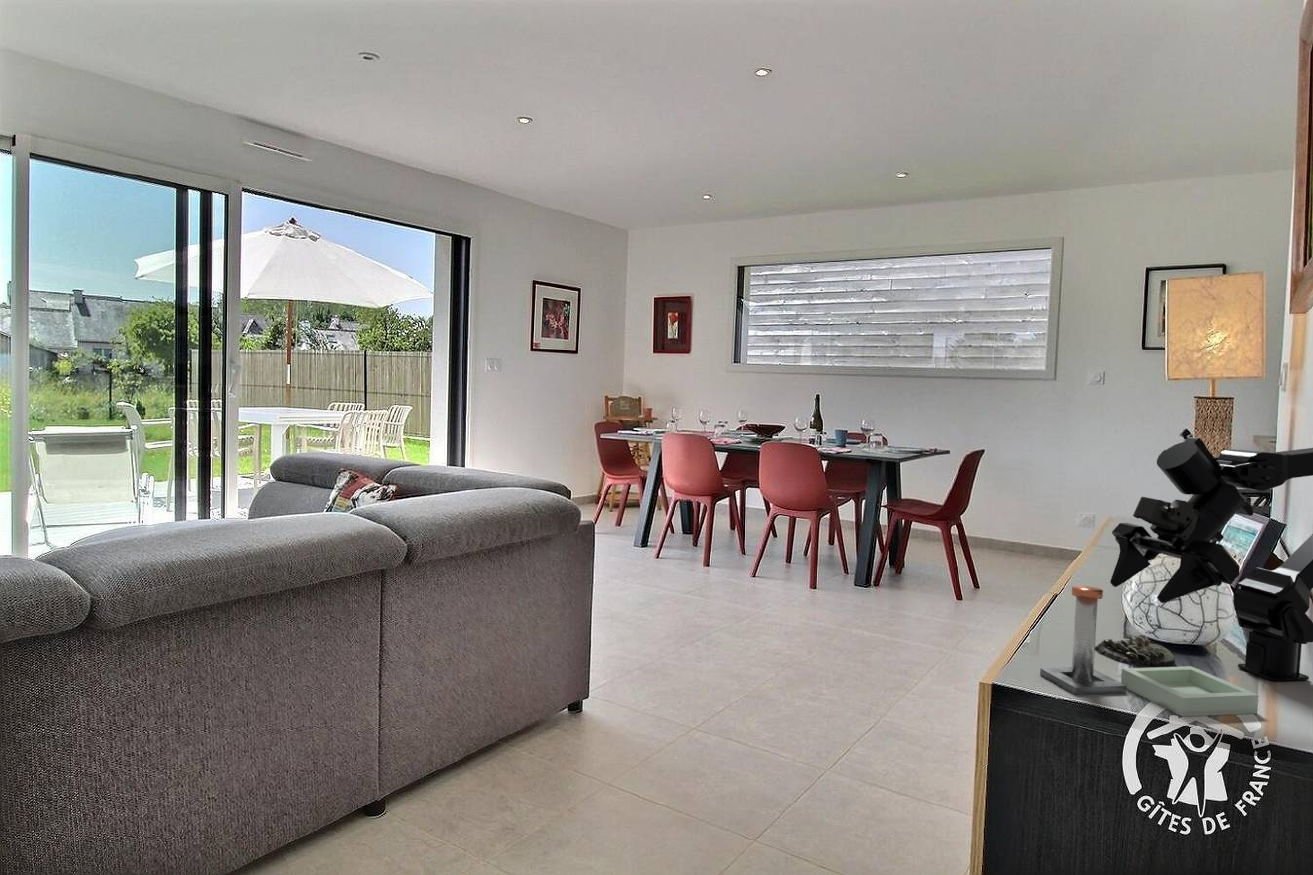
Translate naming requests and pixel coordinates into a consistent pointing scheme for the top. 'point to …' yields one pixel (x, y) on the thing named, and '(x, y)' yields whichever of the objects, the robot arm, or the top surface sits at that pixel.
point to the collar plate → (1096, 687)
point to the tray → (1189, 691)
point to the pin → (1085, 632)
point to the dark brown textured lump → (1137, 652)
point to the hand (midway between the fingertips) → (1135, 592)
